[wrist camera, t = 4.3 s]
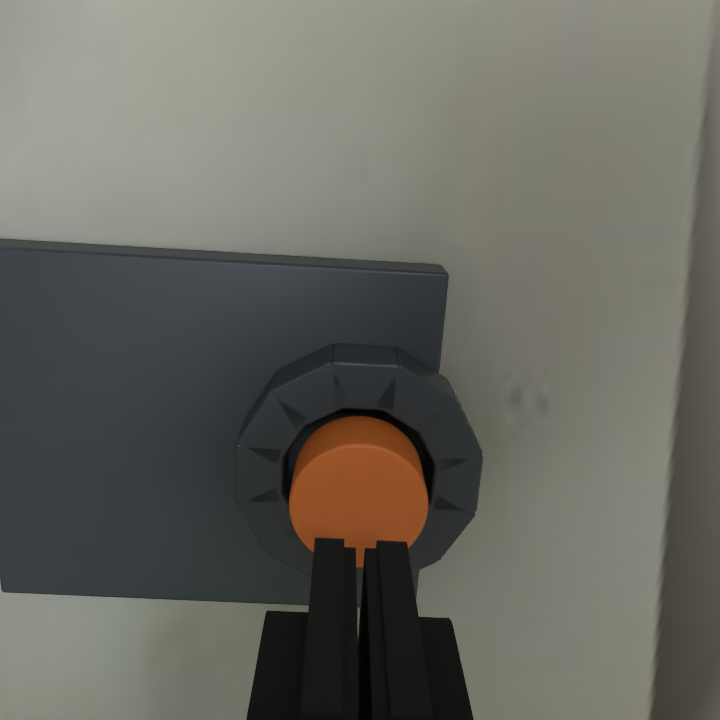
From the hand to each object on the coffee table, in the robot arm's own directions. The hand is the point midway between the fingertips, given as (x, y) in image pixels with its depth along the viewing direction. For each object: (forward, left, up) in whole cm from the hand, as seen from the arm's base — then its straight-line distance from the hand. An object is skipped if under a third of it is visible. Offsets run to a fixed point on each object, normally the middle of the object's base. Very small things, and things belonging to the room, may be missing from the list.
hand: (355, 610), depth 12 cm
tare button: (0, 0, -5) cm, 5 cm away
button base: (+4, 0, -8) cm, 9 cm away
